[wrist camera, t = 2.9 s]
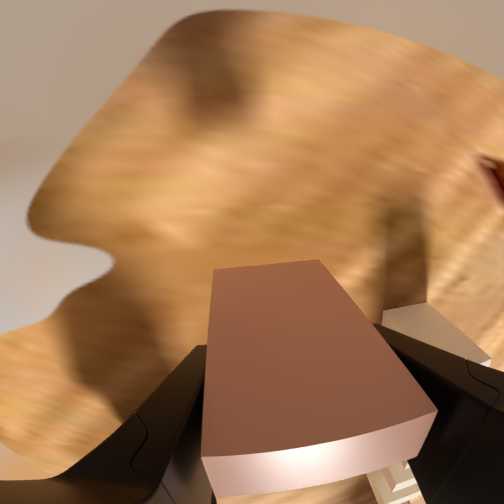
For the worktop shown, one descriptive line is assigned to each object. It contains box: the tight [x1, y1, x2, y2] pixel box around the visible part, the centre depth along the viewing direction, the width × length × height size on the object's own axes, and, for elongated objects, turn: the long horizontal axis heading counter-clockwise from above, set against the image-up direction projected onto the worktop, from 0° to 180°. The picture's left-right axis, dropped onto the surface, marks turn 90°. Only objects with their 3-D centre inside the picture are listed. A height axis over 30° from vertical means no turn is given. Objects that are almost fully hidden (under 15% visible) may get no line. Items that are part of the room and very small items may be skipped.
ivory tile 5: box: [366, 469, 421, 504], centre depth 24 cm, size 2×4×9 cm, turn 94°
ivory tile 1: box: [381, 302, 492, 367], centre depth 19 cm, size 2×4×9 cm, turn 94°
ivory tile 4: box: [381, 463, 417, 492], centre depth 23 cm, size 2×4×9 cm, turn 94°
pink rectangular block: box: [201, 260, 438, 497], centre depth 9 cm, size 2×4×9 cm, turn 94°
